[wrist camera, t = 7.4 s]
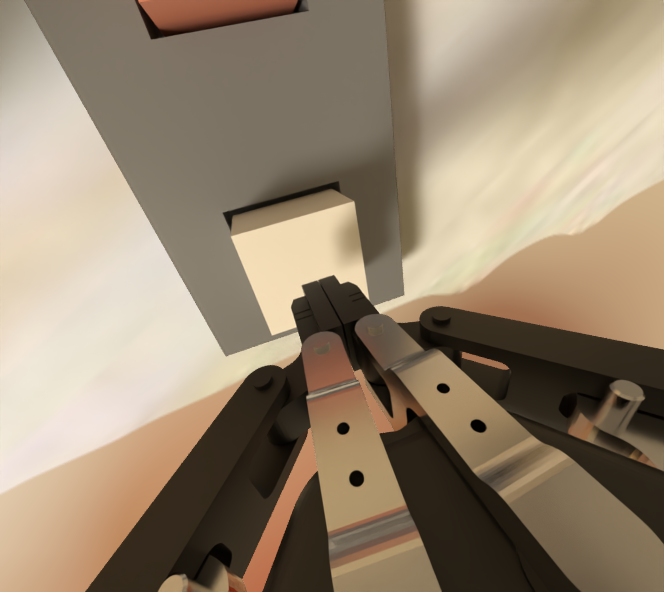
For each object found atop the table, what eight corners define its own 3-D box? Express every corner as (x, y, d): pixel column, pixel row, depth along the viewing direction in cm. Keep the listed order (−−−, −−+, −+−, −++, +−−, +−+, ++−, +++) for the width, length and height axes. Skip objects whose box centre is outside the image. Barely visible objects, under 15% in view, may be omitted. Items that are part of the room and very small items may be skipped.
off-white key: (331, 188, 17) (354, 201, 13) (347, 274, 20) (369, 302, 17) (232, 215, 16) (230, 236, 13) (266, 300, 19) (272, 335, 16)
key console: (317, -290, 11) (351, -475, 8) (382, 274, 25) (404, 295, 22) (-83, -278, 9) (-267, -515, 6) (227, 324, 23) (225, 356, 20)
